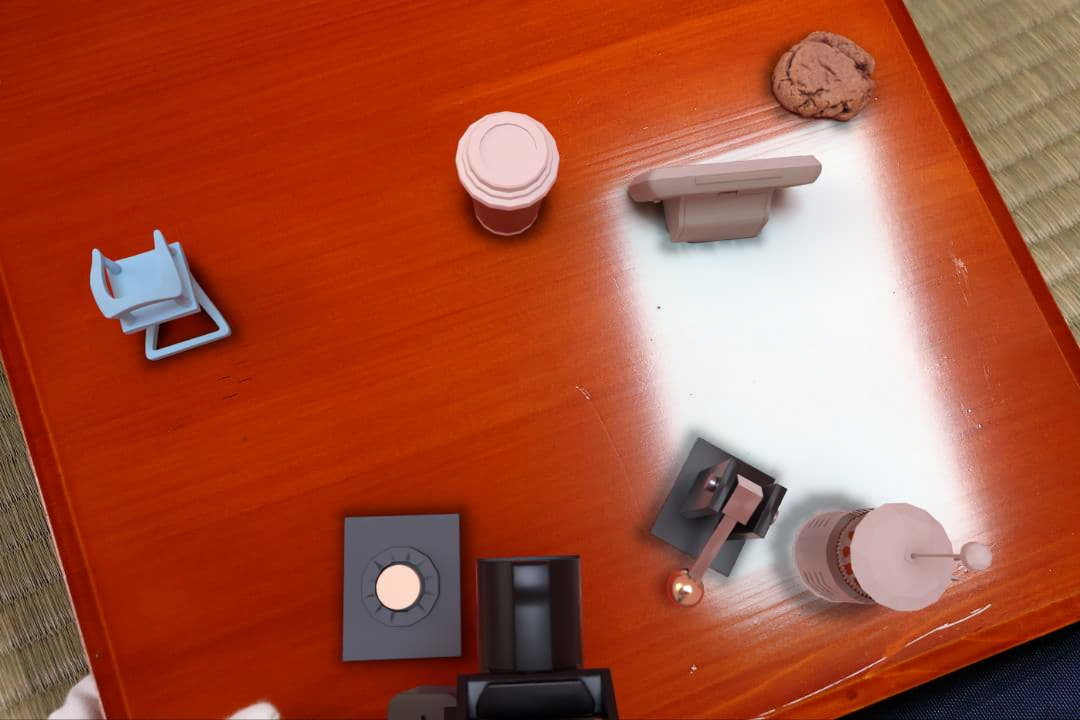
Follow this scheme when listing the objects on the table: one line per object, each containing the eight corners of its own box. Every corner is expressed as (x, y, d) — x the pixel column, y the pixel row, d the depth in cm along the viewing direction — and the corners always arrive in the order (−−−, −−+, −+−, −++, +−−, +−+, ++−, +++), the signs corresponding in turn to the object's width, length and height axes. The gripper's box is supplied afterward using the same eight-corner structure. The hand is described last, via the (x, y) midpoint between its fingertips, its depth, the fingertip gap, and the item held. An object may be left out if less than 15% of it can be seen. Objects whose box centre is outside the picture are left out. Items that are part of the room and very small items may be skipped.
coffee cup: (459, 163, 86) (453, 101, 74) (550, 161, 87) (558, 100, 75) (461, 249, 84) (455, 200, 72) (554, 247, 85) (563, 198, 73)
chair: (209, 256, 83) (161, 207, 71) (232, 335, 81) (187, 299, 69) (129, 281, 82) (67, 236, 70) (151, 362, 80) (91, 329, 69)
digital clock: (787, 172, 88) (826, 121, 77) (785, 256, 86) (824, 215, 75) (628, 156, 87) (645, 102, 77) (622, 240, 85) (639, 197, 75)
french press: (786, 493, 80) (912, 466, 56) (909, 514, 80) (1087, 496, 56) (776, 601, 78) (902, 623, 54) (902, 622, 78) (1085, 653, 54)
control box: (462, 653, 76) (460, 658, 72) (347, 658, 75) (339, 663, 71) (460, 514, 79) (458, 512, 75) (349, 518, 78) (341, 516, 74)
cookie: (752, 65, 90) (761, 49, 87) (837, 25, 92) (848, 8, 89) (802, 144, 88) (813, 130, 85) (888, 101, 90) (901, 86, 87)
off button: (421, 607, 73) (420, 608, 71) (378, 609, 73) (376, 610, 71) (421, 563, 74) (419, 564, 72) (379, 565, 74) (376, 565, 72)
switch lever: (693, 604, 74) (693, 622, 70) (660, 585, 74) (658, 602, 71) (766, 488, 71) (769, 501, 68) (731, 469, 71) (733, 481, 68)
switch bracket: (724, 576, 78) (765, 581, 66) (647, 533, 79) (673, 529, 67) (771, 480, 81) (819, 467, 69) (696, 438, 81) (730, 418, 69)
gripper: (386, 576, 49) (412, 571, 65) (384, 941, 45) (413, 844, 61) (580, 569, 50) (560, 565, 65) (595, 929, 46) (571, 836, 61)
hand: (523, 698), depth 63 cm, fingers closed
